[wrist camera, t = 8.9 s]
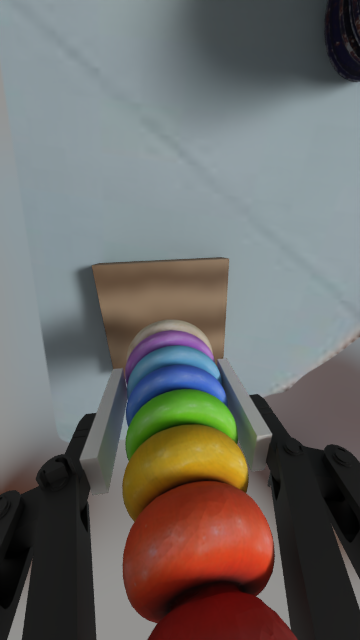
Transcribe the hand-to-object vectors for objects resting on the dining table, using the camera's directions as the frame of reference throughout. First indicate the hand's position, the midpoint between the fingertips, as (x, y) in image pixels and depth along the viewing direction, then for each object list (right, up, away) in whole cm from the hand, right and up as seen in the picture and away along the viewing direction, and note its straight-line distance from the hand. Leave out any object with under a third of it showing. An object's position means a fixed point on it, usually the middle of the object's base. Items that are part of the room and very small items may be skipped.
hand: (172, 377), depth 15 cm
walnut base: (-1, +5, +13) cm, 14 cm away
